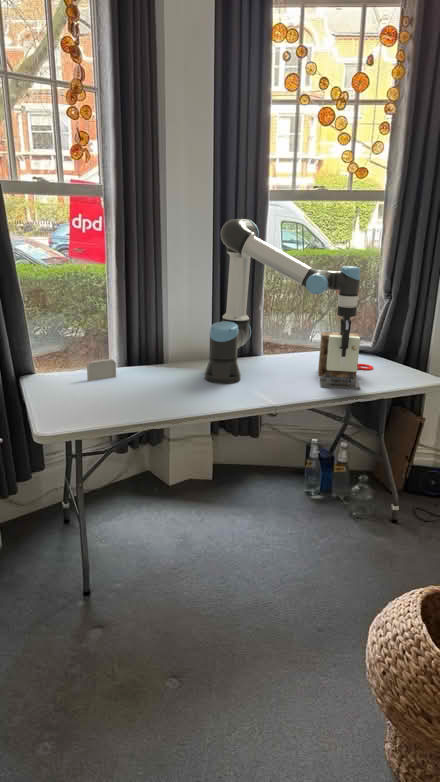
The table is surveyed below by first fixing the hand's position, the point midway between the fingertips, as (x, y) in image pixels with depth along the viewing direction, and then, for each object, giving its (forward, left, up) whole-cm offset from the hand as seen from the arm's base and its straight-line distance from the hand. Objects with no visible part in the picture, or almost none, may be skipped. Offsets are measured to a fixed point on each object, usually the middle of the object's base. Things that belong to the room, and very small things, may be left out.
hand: (342, 362), depth 235 cm
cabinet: (0, +16, -10) cm, 19 cm away
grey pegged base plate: (0, 0, -10) cm, 10 cm away
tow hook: (+13, +30, -10) cm, 34 cm away
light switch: (-98, -13, -10) cm, 99 cm away
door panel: (0, 0, -3) cm, 3 cm away
